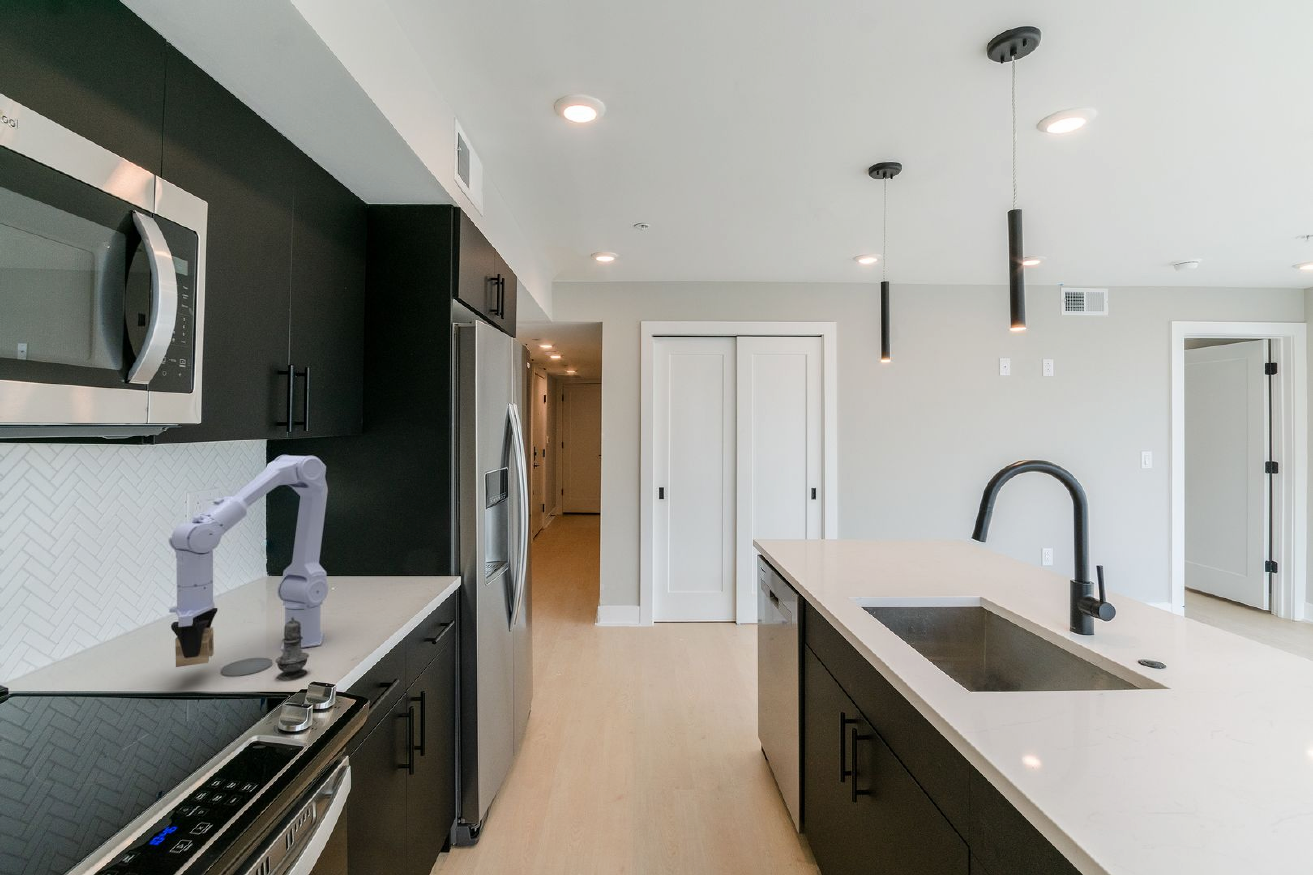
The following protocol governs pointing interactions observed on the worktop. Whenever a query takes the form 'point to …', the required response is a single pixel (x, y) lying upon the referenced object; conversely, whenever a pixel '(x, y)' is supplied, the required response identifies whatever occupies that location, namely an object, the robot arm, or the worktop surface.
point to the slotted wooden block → (205, 650)
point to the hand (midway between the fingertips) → (195, 651)
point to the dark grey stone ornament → (292, 653)
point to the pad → (246, 667)
